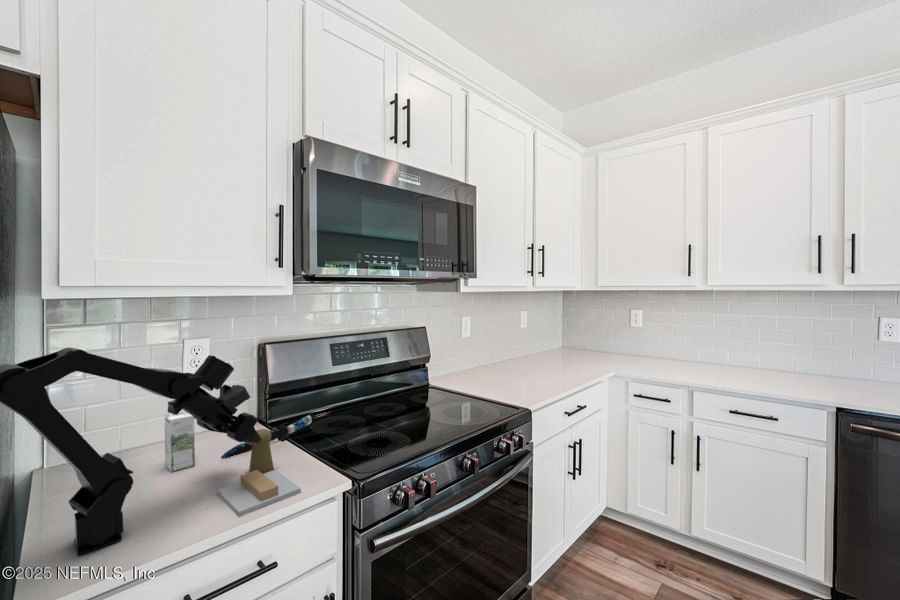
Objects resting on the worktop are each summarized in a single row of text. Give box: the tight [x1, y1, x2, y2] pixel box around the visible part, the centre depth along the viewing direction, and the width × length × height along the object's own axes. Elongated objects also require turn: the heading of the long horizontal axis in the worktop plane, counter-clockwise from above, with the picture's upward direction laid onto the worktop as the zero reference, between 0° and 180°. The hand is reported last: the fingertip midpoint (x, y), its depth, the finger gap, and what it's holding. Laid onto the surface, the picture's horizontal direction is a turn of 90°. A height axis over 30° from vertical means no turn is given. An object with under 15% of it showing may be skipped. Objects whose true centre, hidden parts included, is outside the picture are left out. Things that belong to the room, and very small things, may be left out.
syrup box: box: [164, 410, 196, 473], centre depth 111 cm, size 6×6×14 cm
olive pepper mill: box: [248, 428, 275, 474], centre depth 109 cm, size 6×6×11 cm
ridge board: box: [216, 469, 302, 517], centre depth 98 cm, size 14×14×3 cm
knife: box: [220, 413, 315, 460], centre depth 128 cm, size 31×3×4 cm, turn 140°
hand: (249, 436), depth 106 cm, fingers open, 9 cm apart
